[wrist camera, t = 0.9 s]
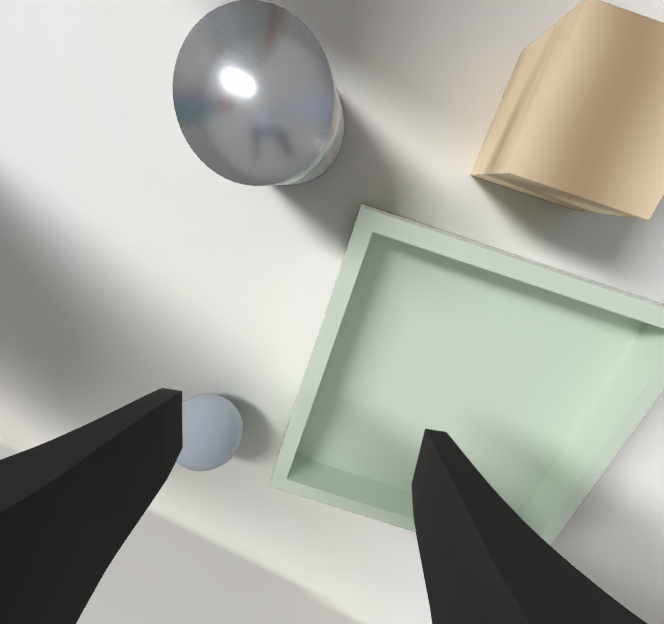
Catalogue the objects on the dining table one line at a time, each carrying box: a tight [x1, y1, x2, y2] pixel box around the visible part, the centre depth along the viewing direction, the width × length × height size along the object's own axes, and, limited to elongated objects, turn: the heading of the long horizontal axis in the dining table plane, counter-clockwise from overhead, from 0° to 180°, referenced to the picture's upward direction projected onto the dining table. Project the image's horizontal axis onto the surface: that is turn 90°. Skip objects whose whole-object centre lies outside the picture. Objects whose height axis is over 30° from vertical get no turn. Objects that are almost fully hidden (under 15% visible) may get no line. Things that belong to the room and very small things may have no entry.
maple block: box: [470, 0, 664, 220], centre depth 14 cm, size 5×5×5 cm
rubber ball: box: [176, 394, 243, 471], centre depth 21 cm, size 4×4×4 cm
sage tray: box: [269, 204, 664, 546], centre depth 20 cm, size 16×16×2 cm
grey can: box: [173, 0, 344, 186], centre depth 14 cm, size 5×5×6 cm
